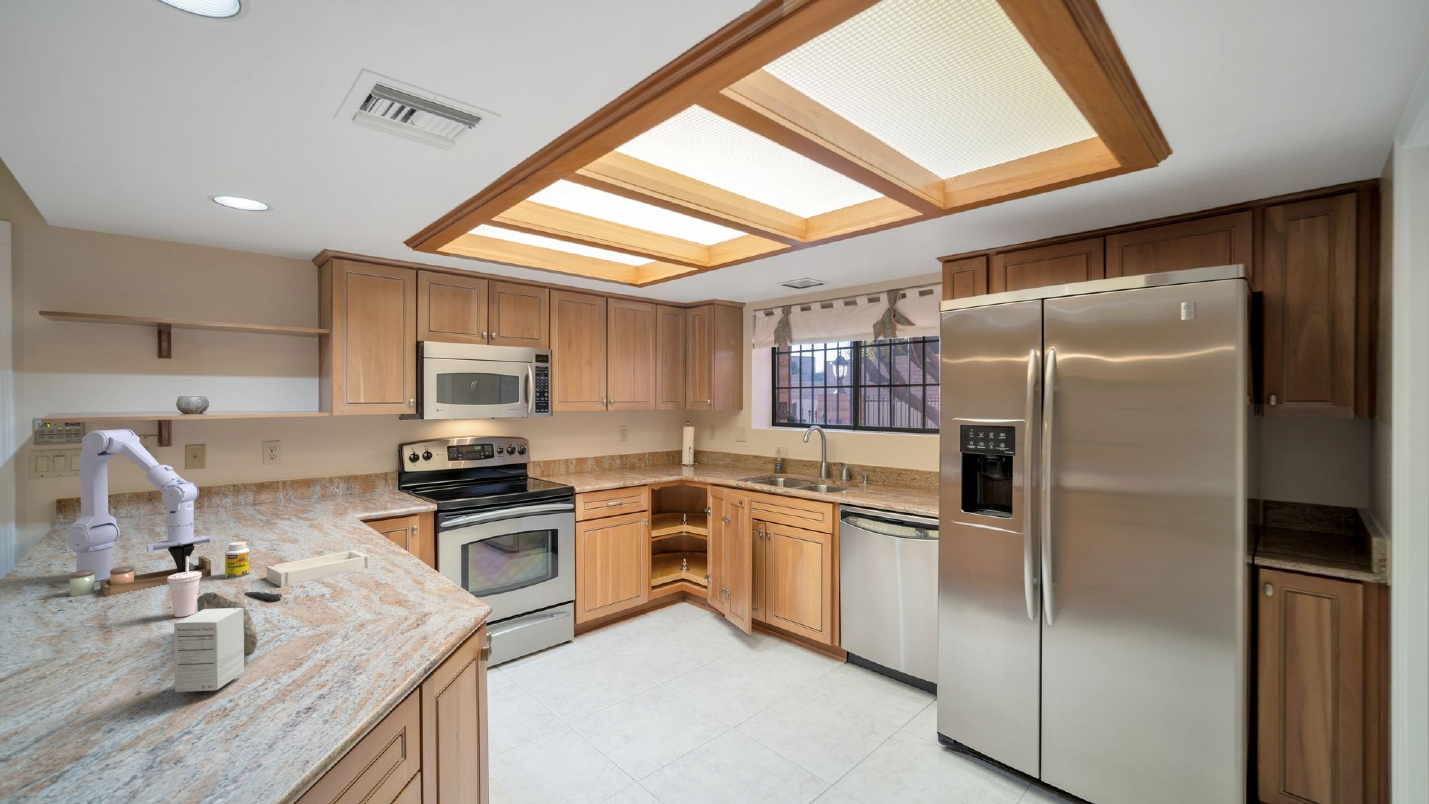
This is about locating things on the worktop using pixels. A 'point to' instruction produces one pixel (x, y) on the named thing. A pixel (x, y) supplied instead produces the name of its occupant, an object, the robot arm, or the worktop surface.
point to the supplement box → (208, 649)
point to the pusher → (191, 567)
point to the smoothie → (184, 591)
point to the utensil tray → (317, 568)
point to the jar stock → (121, 575)
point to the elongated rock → (219, 602)
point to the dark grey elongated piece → (264, 596)
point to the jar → (82, 583)
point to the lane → (152, 579)
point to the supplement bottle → (237, 561)
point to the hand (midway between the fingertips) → (181, 571)
